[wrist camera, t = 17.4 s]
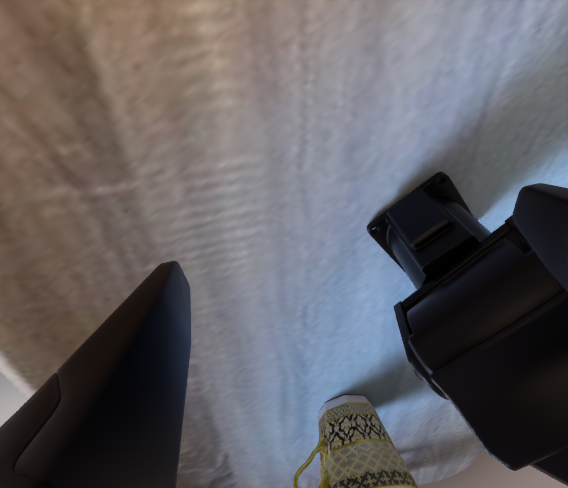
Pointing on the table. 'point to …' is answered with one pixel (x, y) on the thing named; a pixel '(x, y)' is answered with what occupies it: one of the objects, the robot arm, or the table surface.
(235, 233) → the table surface
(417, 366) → the robot arm
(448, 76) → the table surface
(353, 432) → the ceramic cup
